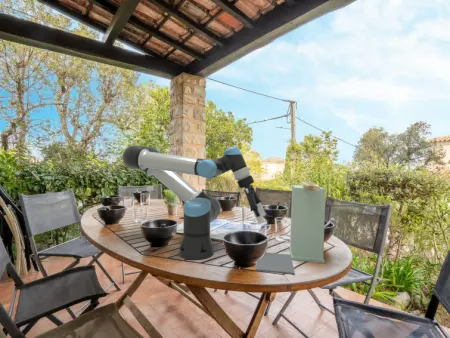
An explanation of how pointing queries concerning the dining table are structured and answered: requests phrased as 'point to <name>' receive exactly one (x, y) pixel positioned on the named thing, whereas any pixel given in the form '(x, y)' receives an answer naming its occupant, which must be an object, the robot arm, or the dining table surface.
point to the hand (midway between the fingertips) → (262, 219)
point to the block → (310, 186)
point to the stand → (307, 224)
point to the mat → (275, 263)
